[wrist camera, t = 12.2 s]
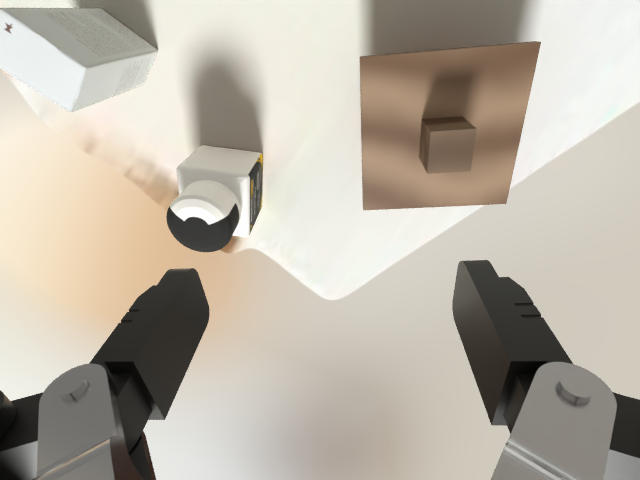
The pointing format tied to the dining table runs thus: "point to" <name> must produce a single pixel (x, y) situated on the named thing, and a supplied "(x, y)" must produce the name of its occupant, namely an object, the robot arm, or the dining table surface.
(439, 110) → the walnut lid
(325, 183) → the dining table surface
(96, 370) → the robot arm
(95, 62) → the skincare box
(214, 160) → the medicine bottle
